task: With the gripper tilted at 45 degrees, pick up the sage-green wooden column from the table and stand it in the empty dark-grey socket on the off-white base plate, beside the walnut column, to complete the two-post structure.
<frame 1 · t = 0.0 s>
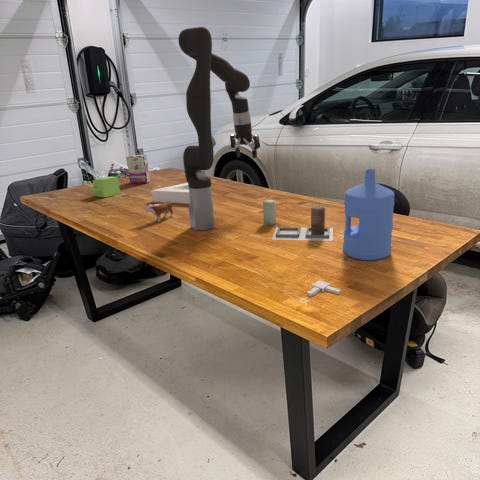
hand: (246, 157, 208), 22 cm above the table, tool pointing down, fingers open, 8 cm apart
gearbox: (108, 194, 249), on the table
candy bar box: (140, 183, 272), on the table
sage column: (269, 225, 185), on the table
base plate: (303, 236, 171), on the table
corner connector: (323, 294, 128), on the table
water jug: (366, 252, 153), on the table
bull figurine: (161, 220, 201), on the table
triangle block: (190, 197, 236), on the table
walnut column: (317, 233, 170), resting on base plate
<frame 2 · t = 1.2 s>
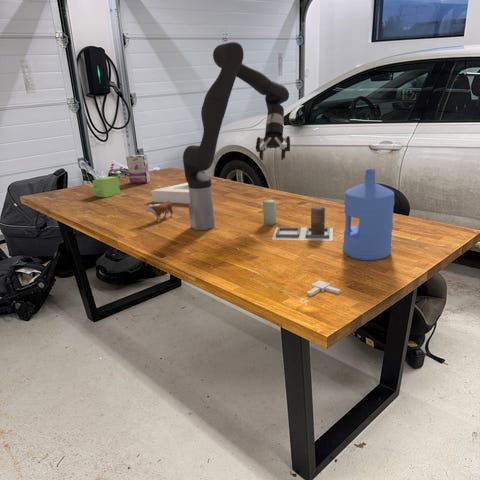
hand: (272, 159, 187), 25 cm above the table, tool tilted 45°, fingers open, 8 cm apart
nothing on the table moved.
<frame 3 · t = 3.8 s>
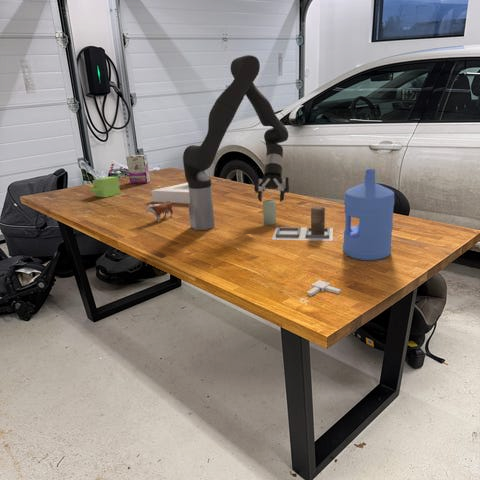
hand: (270, 200, 186), 9 cm above the table, tool tilted 45°, fingers open, 8 cm apart
nothing on the table moved.
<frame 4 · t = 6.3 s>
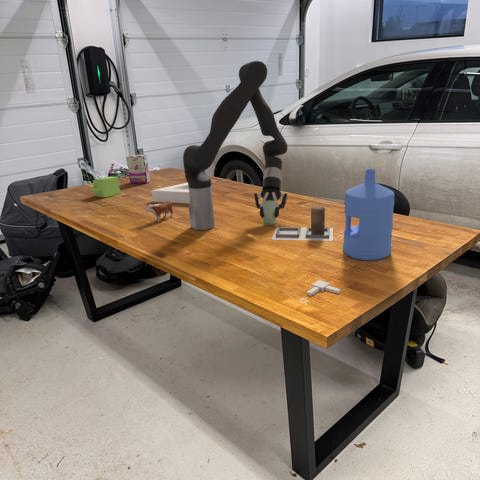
hand: (269, 216, 182), 4 cm above the table, tool tilted 45°, fingers closed on sage column, 5 cm apart
sage column: (269, 225, 185), on the table, touching gripper
everything else where it was.
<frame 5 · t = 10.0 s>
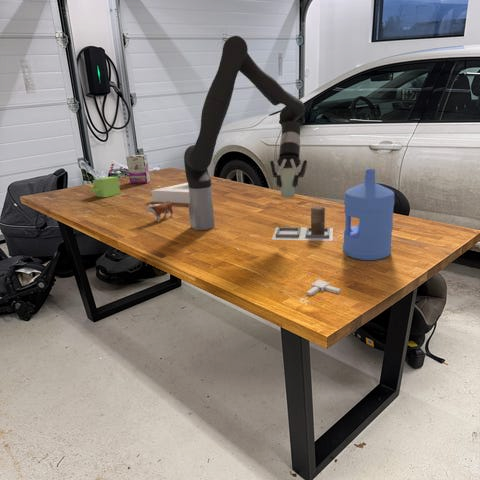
hand: (287, 186, 164), 20 cm above the table, tool tilted 45°, fingers closed on sage column, 5 cm apart
sage column: (287, 195, 167), point 16 cm above the table, touching gripper
everything else where it was.
when the fingers open (7 cm above the table, at t = 13.8 s): sage column drops 1 cm, resting on base plate.
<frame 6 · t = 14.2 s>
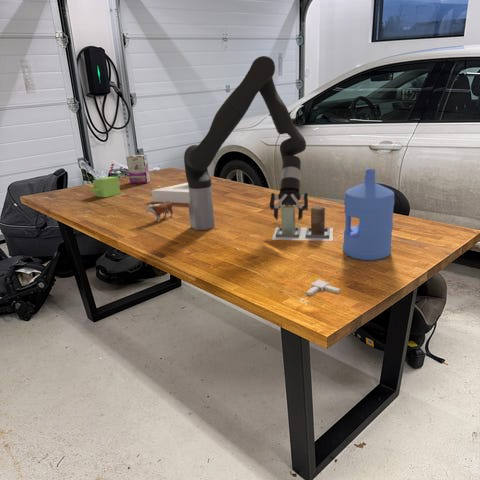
hand: (287, 219, 168), 7 cm above the table, tool tilted 45°, fingers open, 8 cm apart
sage column: (288, 233, 172), point 1 cm above the table, touching base plate
everything else where it was.
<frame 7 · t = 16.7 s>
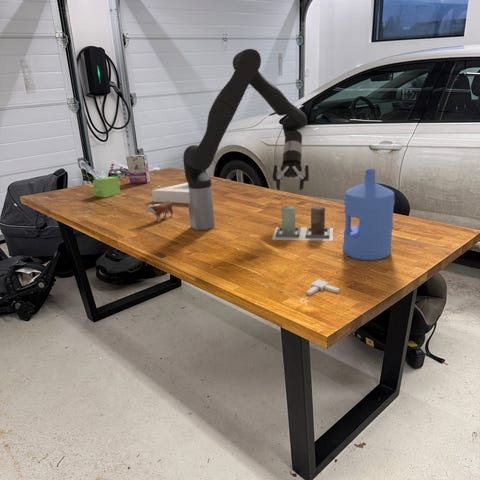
hand: (289, 189, 178), 15 cm above the table, tool tilted 45°, fingers open, 8 cm apart
nothing on the table moved.
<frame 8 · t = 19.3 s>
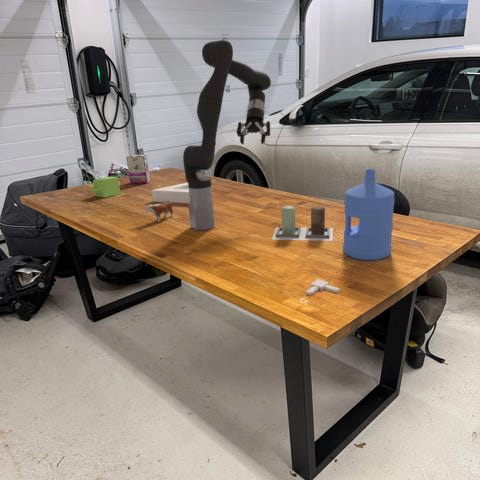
hand: (252, 143, 192), 31 cm above the table, tool tilted 45°, fingers open, 8 cm apart
nothing on the table moved.
at the end: sage column 0.2 cm from the target spot, point 1.0 cm above the table; sage column tilted 0°; the gripper is holding nothing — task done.
